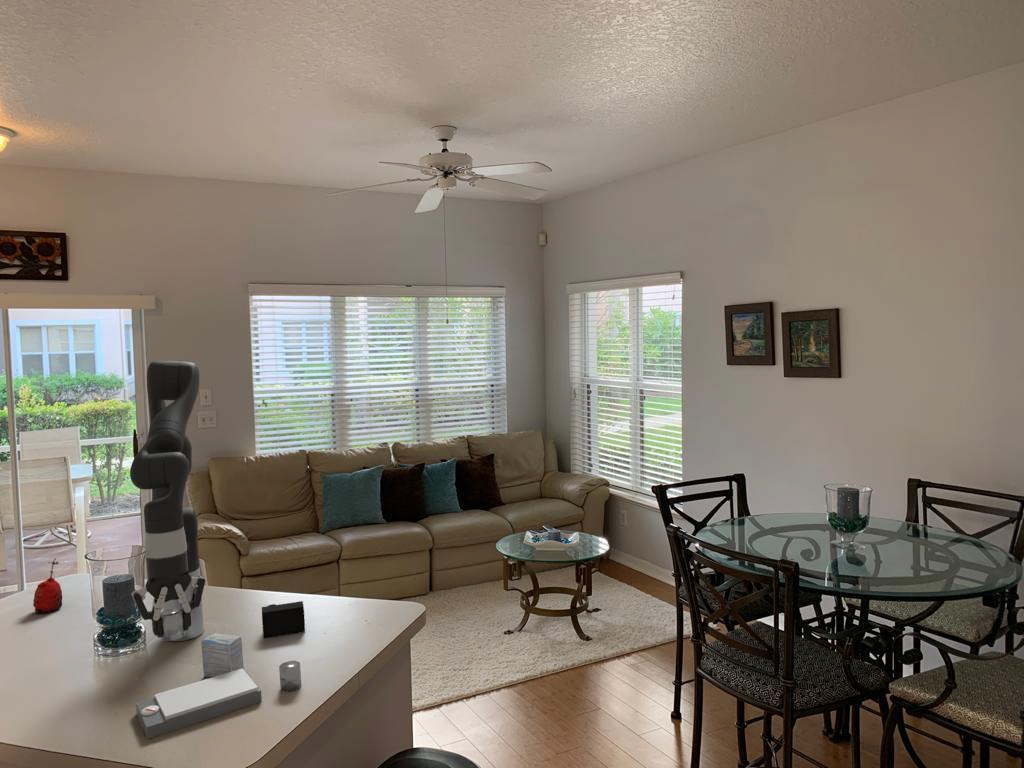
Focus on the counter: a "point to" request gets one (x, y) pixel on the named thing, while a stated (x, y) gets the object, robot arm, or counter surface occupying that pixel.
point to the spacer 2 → (290, 676)
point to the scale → (197, 702)
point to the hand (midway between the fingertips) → (172, 632)
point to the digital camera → (283, 619)
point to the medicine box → (221, 654)
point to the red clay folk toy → (48, 595)
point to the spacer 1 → (172, 624)
